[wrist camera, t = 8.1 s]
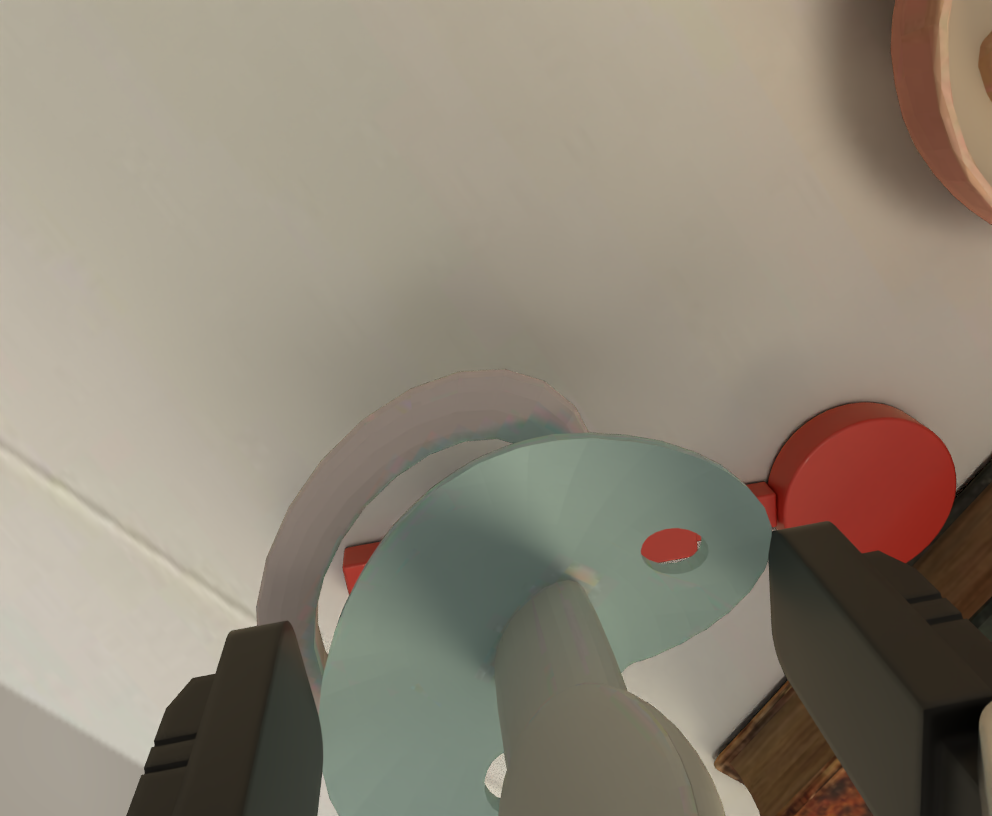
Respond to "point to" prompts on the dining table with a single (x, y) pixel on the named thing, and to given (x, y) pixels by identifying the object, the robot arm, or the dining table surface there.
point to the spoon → (832, 486)
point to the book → (786, 722)
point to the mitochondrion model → (948, 91)
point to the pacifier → (509, 607)
